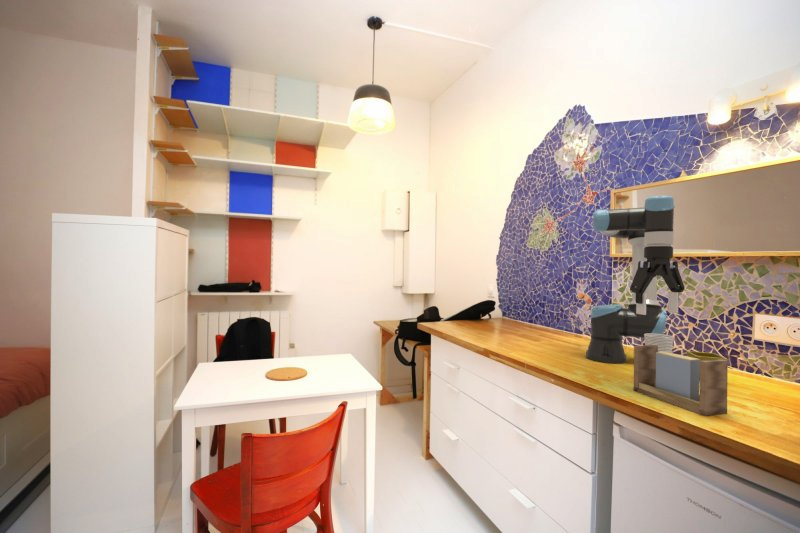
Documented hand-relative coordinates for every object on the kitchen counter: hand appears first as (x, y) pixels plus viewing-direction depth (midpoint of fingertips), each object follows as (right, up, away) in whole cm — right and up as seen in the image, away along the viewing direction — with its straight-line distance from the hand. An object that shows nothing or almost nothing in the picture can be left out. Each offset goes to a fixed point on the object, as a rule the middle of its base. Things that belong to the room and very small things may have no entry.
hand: (657, 313), depth 117 cm
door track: (-1, -24, -9) cm, 26 cm away
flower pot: (+26, -25, +13) cm, 39 cm away
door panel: (-1, -23, -9) cm, 25 cm away
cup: (+9, -25, +12) cm, 29 cm away
